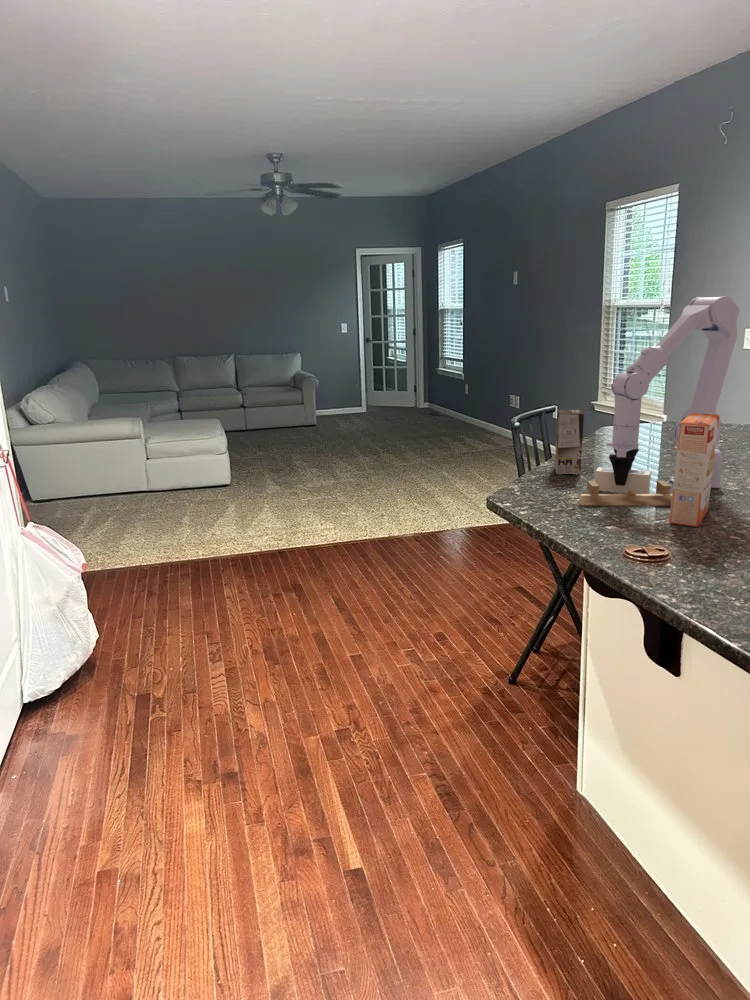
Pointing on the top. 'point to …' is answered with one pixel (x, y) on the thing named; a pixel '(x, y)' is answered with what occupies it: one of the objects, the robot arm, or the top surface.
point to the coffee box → (569, 441)
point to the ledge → (627, 496)
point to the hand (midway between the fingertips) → (622, 481)
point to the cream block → (635, 481)
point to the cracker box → (693, 468)
